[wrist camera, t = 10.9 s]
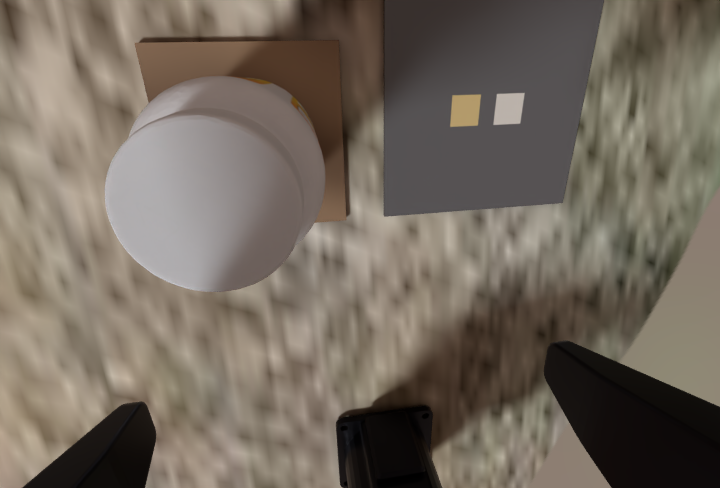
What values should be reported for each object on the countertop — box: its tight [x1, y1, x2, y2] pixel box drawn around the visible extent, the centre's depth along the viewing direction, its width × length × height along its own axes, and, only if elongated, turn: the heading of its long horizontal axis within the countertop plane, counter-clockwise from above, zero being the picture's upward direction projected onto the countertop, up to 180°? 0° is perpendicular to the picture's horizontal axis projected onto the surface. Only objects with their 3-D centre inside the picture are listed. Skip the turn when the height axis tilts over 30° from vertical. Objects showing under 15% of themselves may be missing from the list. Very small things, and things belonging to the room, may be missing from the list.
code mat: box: [384, 0, 604, 216], centre depth 18 cm, size 10×10×1 cm
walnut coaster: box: [135, 40, 346, 223], centre depth 17 cm, size 8×8×1 cm
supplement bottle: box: [105, 76, 325, 292], centre depth 12 cm, size 5×5×10 cm
